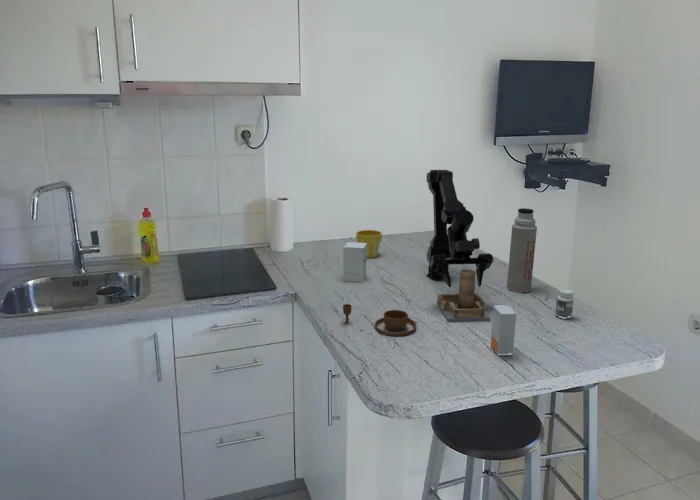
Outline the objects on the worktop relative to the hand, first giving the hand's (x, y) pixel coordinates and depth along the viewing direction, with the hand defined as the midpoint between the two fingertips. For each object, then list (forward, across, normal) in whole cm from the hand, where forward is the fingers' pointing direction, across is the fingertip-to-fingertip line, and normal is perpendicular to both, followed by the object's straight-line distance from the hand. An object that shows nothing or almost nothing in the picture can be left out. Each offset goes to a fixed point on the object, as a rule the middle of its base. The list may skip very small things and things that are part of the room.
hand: (465, 286), depth 177 cm
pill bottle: (+10, +30, +3) cm, 31 cm away
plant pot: (-38, -22, +51) cm, 67 cm away
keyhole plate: (+5, 0, +7) cm, 9 cm away
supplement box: (-18, -30, +31) cm, 47 cm away
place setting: (+12, -25, +2) cm, 28 cm away
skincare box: (+25, +3, -13) cm, 28 cm away
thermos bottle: (-8, +25, +21) cm, 33 cm away
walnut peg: (+7, 0, +4) cm, 8 cm away
